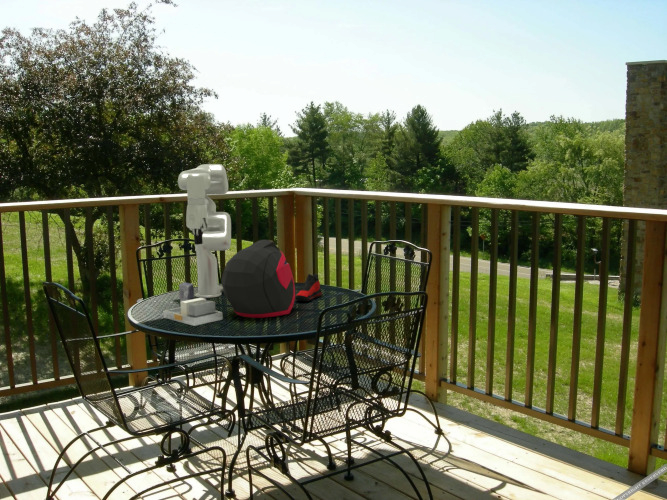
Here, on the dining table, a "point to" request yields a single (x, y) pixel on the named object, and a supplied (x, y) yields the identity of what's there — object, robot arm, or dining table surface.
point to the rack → (195, 314)
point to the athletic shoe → (310, 289)
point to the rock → (186, 291)
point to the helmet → (259, 281)
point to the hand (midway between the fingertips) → (198, 244)
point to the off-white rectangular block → (186, 305)
